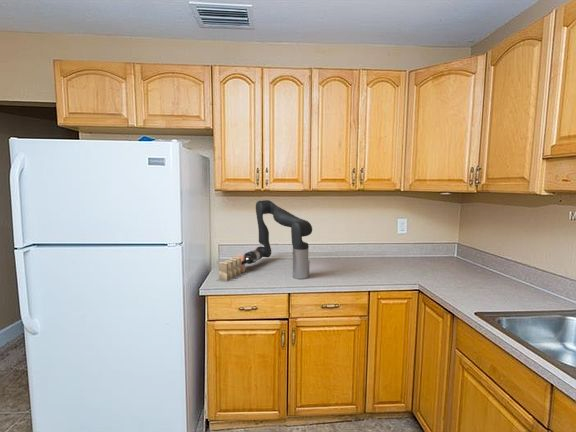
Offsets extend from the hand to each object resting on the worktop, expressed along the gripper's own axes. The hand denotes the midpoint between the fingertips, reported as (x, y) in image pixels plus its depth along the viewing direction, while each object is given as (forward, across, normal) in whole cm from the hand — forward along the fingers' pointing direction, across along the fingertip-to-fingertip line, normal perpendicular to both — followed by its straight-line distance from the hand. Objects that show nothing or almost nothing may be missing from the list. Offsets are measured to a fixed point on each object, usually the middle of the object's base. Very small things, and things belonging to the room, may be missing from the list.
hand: (238, 262), depth 201 cm
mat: (+6, 0, +7) cm, 10 cm away
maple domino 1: (+15, 0, +7) cm, 17 cm away
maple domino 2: (+11, 0, +7) cm, 13 cm away
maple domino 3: (+6, 0, +7) cm, 9 cm away
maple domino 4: (+2, 0, +7) cm, 7 cm away
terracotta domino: (-3, 0, +6) cm, 7 cm away
